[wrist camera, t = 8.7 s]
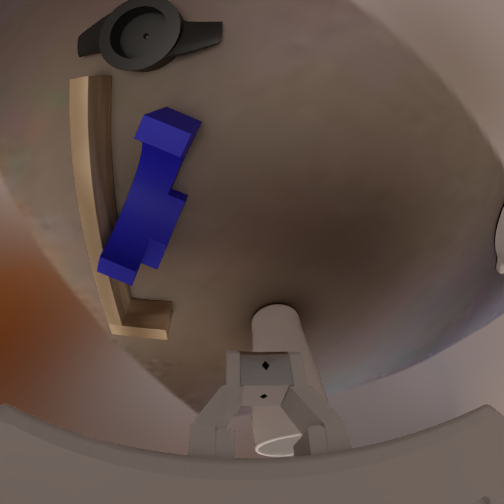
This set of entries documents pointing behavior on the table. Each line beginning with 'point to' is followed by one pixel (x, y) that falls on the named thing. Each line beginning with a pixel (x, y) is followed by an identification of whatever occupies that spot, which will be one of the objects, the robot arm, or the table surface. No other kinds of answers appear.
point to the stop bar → (105, 208)
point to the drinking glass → (293, 340)
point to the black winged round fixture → (138, 27)
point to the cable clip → (150, 196)
